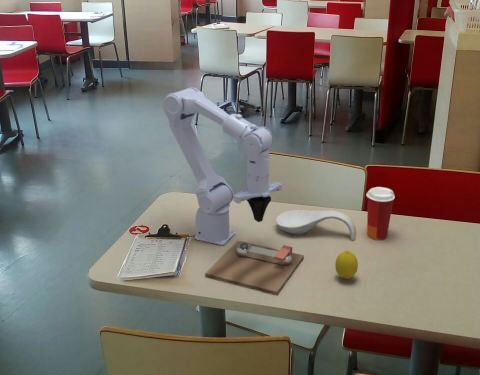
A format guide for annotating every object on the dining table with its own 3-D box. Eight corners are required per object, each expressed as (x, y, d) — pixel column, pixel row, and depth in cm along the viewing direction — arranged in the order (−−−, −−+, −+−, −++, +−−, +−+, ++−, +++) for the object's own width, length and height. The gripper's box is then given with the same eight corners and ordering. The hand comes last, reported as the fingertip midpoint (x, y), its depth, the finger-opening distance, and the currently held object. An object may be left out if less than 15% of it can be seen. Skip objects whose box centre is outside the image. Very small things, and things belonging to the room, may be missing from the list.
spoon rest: (271, 236, 160) (271, 214, 158) (280, 218, 171) (281, 197, 168) (352, 247, 154) (354, 224, 151) (357, 228, 164) (359, 207, 161)
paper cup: (391, 231, 161) (396, 188, 156) (389, 243, 155) (394, 198, 149) (364, 227, 164) (368, 184, 158) (361, 239, 157) (365, 195, 151)
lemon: (356, 285, 136) (358, 257, 132) (334, 283, 137) (335, 255, 133) (356, 273, 141) (358, 246, 137) (335, 271, 142) (336, 244, 138)
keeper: (274, 267, 142) (274, 256, 141) (283, 255, 148) (283, 245, 146) (282, 269, 141) (283, 258, 140) (292, 257, 147) (292, 247, 145)
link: (234, 255, 148) (234, 246, 147) (240, 248, 151) (240, 240, 150) (288, 266, 142) (288, 258, 141) (293, 259, 145) (293, 251, 144)
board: (205, 276, 140) (205, 273, 140) (237, 243, 156) (237, 240, 156) (277, 295, 132) (277, 291, 132) (303, 258, 148) (303, 255, 148)
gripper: (244, 185, 136) (244, 233, 142) (289, 172, 144) (288, 218, 149) (228, 176, 142) (229, 223, 147) (273, 164, 149) (272, 209, 155)
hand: (258, 220), depth 149 cm, fingers closed
